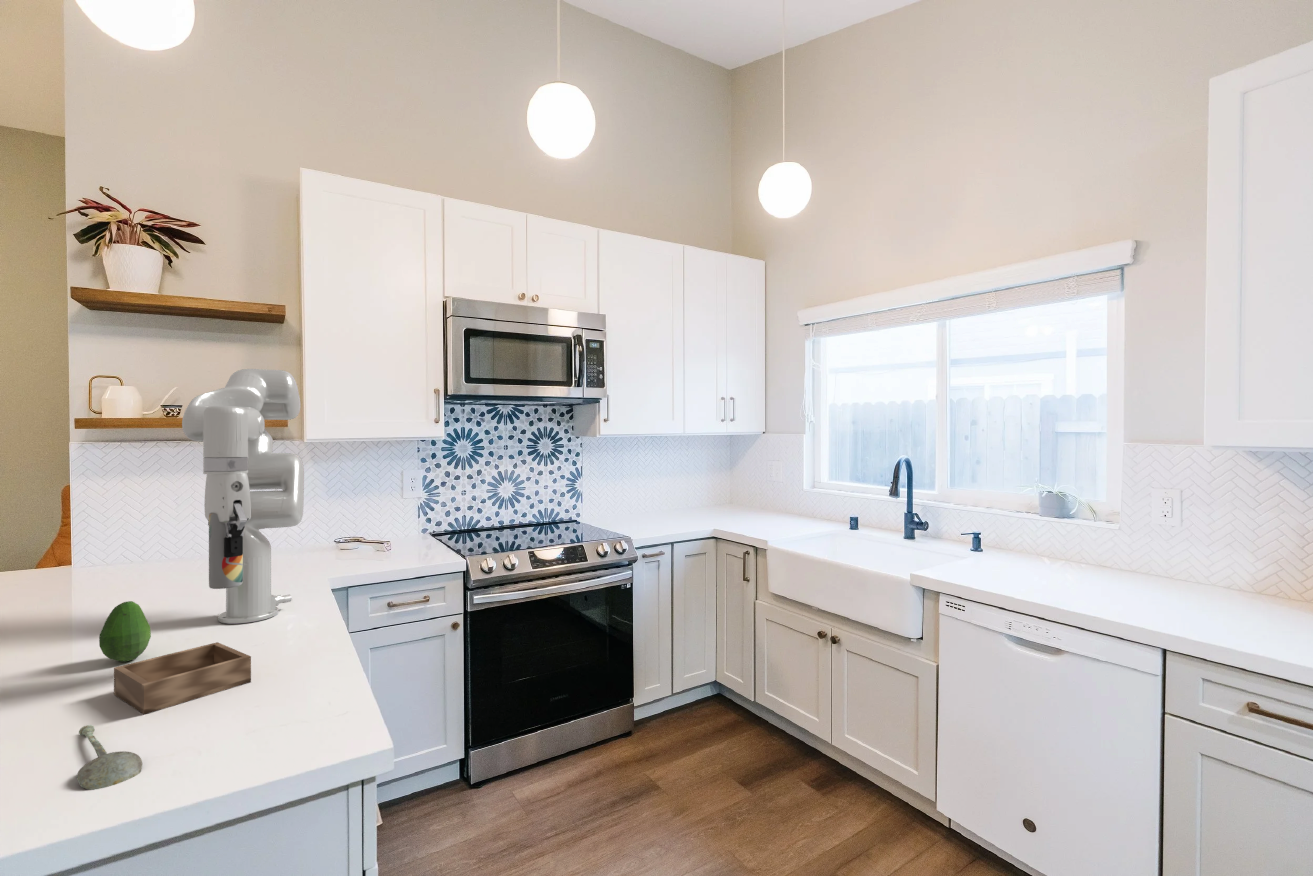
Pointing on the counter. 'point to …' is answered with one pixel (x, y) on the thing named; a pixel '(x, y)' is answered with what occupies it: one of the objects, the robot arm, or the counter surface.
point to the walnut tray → (181, 676)
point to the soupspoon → (106, 765)
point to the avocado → (125, 632)
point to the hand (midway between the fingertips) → (225, 554)
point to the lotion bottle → (222, 558)
